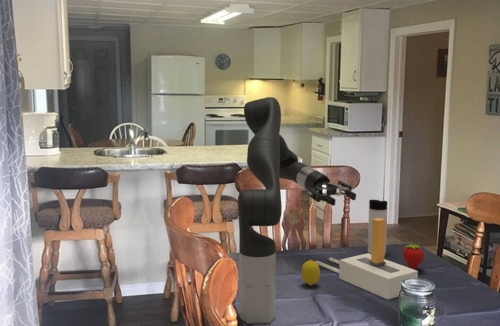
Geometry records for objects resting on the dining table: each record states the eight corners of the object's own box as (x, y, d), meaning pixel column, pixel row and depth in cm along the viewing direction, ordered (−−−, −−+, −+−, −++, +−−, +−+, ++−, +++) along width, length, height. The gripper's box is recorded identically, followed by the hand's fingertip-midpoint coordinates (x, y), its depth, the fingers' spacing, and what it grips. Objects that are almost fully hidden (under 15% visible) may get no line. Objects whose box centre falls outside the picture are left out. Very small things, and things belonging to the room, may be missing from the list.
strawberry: (412, 275, 168) (413, 244, 167) (397, 267, 175) (398, 238, 174) (427, 272, 170) (429, 242, 169) (412, 265, 177) (413, 236, 176)
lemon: (304, 281, 163) (305, 255, 162) (322, 284, 160) (322, 258, 159) (298, 287, 158) (298, 261, 157) (316, 290, 156) (316, 263, 154)
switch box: (417, 290, 155) (417, 270, 154) (387, 299, 148) (388, 278, 148) (367, 271, 172) (367, 252, 171) (339, 278, 165) (339, 259, 164)
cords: (359, 271, 171) (359, 268, 171) (342, 276, 167) (342, 272, 167) (330, 260, 183) (330, 256, 183) (314, 263, 179) (314, 260, 179)
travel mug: (364, 255, 188) (366, 199, 185) (371, 250, 193) (373, 196, 191) (381, 258, 185) (383, 201, 182) (388, 253, 190) (390, 198, 187)
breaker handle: (385, 264, 158) (387, 219, 157) (378, 266, 157) (379, 221, 155) (376, 261, 161) (378, 217, 160) (369, 262, 160) (370, 218, 158)
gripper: (296, 174, 175) (328, 193, 162) (330, 167, 182) (363, 185, 169) (294, 195, 177) (326, 215, 165) (327, 187, 185) (360, 206, 172)
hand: (344, 200), depth 167 cm, fingers open, 8 cm apart
